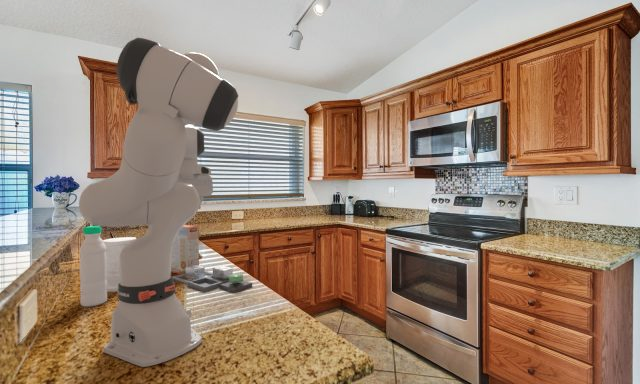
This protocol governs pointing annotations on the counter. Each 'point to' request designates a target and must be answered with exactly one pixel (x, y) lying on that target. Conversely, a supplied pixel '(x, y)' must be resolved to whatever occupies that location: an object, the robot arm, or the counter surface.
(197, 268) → the billet
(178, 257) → the cracker box
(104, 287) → the water bottle
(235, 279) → the button
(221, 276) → the block
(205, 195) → the robot arm
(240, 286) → the console
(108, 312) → the counter surface
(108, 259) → the decorative container
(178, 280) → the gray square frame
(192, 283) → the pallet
